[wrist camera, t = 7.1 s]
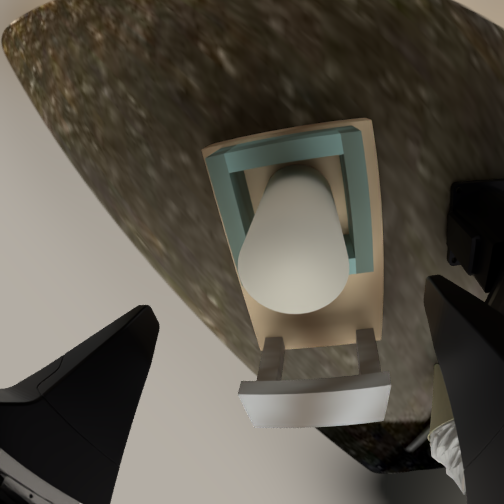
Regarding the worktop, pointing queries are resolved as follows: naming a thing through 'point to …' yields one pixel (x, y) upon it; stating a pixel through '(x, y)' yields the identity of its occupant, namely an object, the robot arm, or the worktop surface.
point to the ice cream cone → (445, 432)
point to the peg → (295, 244)
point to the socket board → (348, 301)
